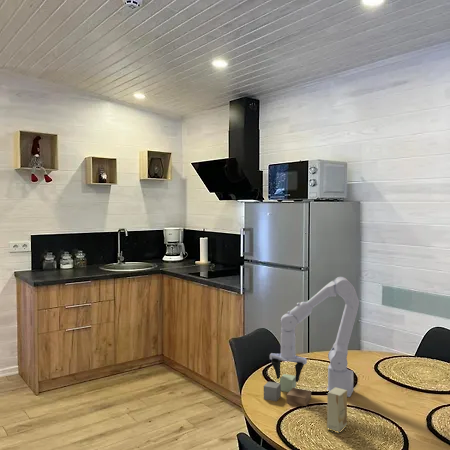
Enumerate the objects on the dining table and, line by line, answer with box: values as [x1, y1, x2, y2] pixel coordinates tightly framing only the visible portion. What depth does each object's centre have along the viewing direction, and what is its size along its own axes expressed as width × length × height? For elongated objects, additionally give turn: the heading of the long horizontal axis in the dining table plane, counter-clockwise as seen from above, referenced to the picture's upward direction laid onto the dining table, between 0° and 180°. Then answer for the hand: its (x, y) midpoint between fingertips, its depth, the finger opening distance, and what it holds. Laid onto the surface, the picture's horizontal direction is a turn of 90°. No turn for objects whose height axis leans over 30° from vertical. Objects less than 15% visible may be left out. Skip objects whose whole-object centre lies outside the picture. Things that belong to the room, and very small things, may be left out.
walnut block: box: [286, 387, 312, 407], centre depth 168 cm, size 7×7×4 cm
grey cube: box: [263, 381, 282, 402], centre depth 171 cm, size 5×5×5 cm
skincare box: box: [326, 387, 348, 432], centre depth 147 cm, size 6×4×12 cm
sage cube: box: [279, 373, 297, 393], centre depth 179 cm, size 5×5×5 cm
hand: (287, 379), depth 179 cm, fingers open, 7 cm apart
